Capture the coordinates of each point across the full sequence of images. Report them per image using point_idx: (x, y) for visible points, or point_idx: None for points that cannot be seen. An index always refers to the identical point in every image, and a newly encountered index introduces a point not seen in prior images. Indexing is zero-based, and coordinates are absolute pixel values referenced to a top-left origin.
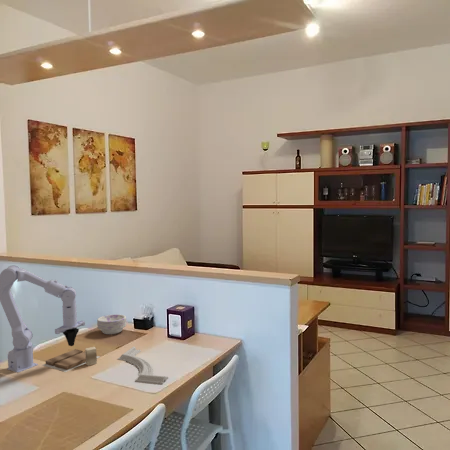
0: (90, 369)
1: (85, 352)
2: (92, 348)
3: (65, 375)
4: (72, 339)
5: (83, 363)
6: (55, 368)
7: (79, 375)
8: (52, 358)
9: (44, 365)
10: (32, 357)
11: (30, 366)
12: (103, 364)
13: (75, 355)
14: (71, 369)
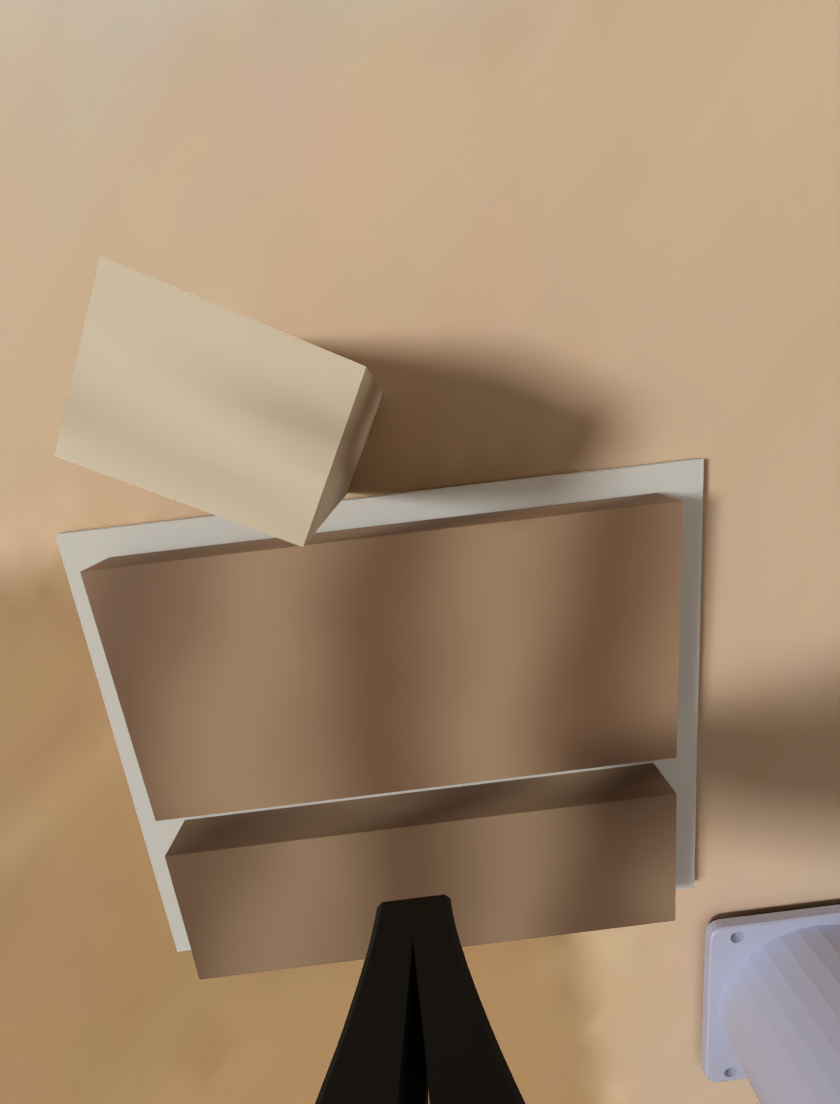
0: (427, 239)
1: (322, 518)
2: (170, 371)
3: (760, 370)
4: (445, 1073)
5: (370, 520)
6: (686, 675)
7: (666, 176)
8: (581, 920)
9: (688, 855)
10: (836, 1054)
11: (804, 930)
12: (177, 234)
13: (330, 788)
14: (600, 470)
